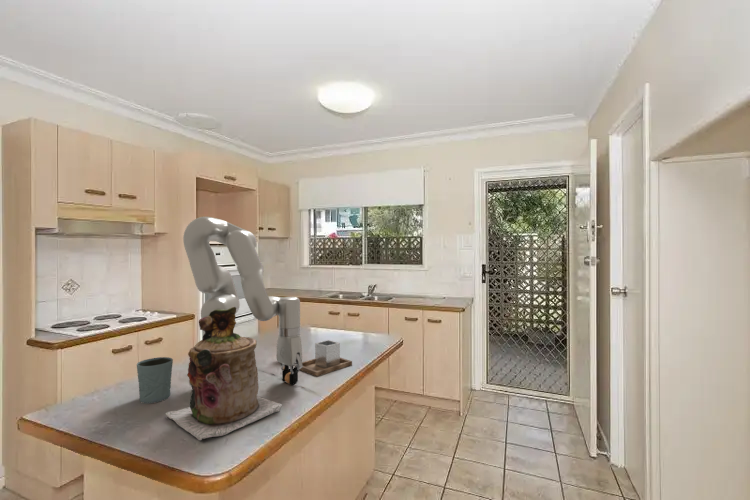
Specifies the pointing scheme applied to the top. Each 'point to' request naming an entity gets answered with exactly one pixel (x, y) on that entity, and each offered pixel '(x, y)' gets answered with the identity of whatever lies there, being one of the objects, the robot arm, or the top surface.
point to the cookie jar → (222, 381)
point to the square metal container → (327, 354)
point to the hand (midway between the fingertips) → (290, 381)
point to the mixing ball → (287, 378)
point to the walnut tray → (317, 371)
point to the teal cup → (154, 379)
